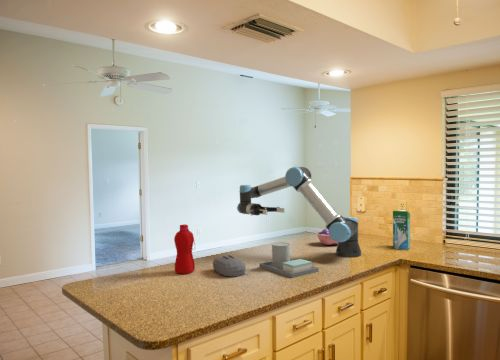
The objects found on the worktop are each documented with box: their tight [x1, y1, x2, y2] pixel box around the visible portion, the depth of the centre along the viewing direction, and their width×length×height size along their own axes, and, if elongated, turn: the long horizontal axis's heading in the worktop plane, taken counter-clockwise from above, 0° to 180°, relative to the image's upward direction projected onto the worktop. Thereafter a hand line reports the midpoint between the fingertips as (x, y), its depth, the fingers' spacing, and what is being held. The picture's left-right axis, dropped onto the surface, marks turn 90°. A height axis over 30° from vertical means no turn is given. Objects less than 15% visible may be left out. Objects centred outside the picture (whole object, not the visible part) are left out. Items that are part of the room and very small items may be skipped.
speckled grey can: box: [271, 241, 291, 269], centre depth 202 cm, size 10×10×12 cm
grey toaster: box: [212, 254, 247, 277], centre depth 197 cm, size 15×8×20 cm
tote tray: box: [258, 259, 319, 279], centre depth 197 cm, size 26×18×3 cm
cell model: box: [315, 228, 338, 246], centre depth 264 cm, size 17×20×11 cm
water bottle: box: [173, 224, 196, 275], centre depth 198 cm, size 9×11×25 cm
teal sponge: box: [282, 258, 313, 273], centre depth 191 cm, size 8×12×5 cm
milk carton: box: [392, 209, 411, 251], centre depth 249 cm, size 9×9×25 cm
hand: (275, 211), depth 229 cm, fingers open, 13 cm apart
